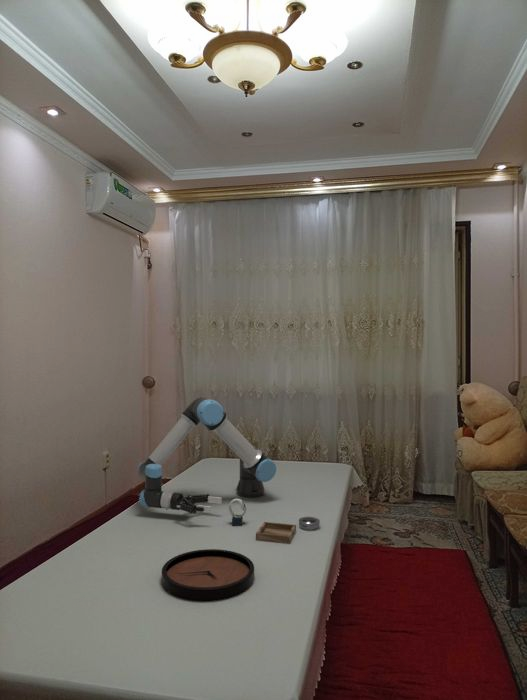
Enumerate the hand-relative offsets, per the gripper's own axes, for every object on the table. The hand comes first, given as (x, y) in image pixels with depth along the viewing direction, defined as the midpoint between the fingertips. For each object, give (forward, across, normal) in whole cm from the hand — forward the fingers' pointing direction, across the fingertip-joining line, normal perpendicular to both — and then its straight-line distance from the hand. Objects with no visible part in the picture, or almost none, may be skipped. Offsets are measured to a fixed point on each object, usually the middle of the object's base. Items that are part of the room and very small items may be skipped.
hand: (216, 505), depth 231 cm
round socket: (+41, -5, -7) cm, 42 cm away
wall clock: (+16, +53, -8) cm, 56 cm away
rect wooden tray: (+30, +9, -7) cm, 32 cm away
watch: (+10, 0, -8) cm, 13 cm away
